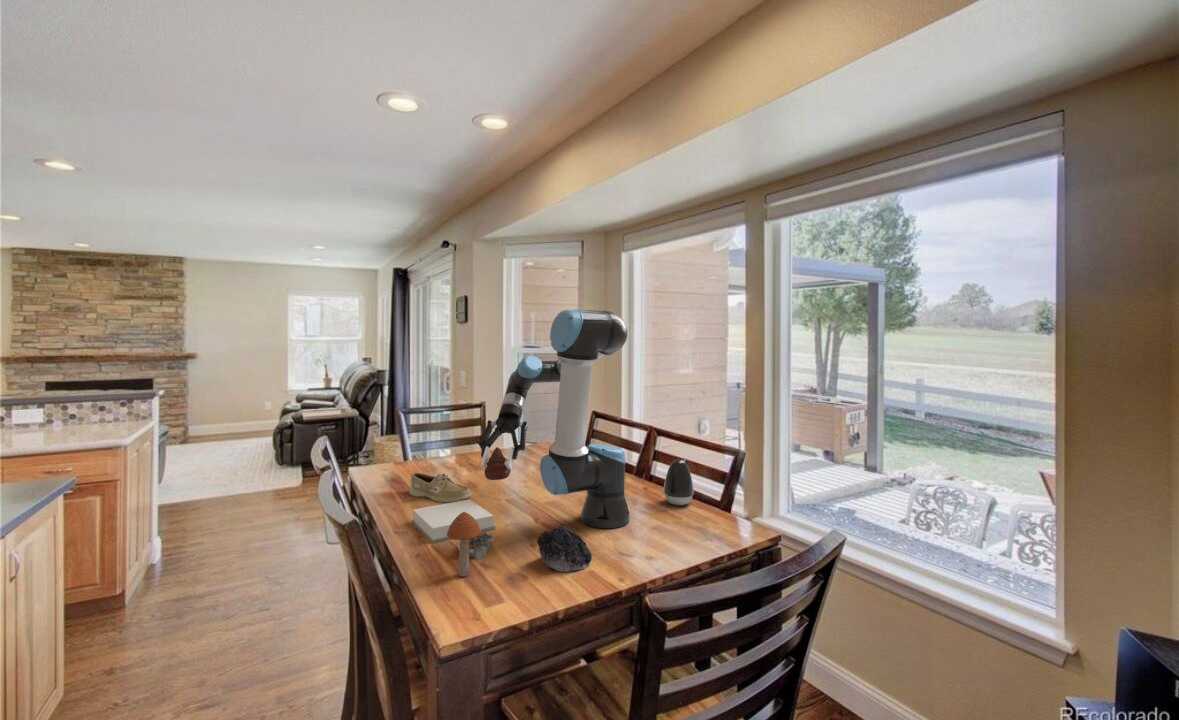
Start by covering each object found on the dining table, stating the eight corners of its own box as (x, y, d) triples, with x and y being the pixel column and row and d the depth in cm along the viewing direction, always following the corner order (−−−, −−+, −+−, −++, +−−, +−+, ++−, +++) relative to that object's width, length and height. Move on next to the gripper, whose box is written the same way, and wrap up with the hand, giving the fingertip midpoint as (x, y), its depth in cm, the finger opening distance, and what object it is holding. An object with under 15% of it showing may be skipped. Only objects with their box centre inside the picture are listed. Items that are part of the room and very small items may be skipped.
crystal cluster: (597, 556, 134) (595, 518, 135) (586, 575, 121) (584, 532, 121) (548, 555, 137) (547, 517, 137) (532, 573, 124) (531, 531, 124)
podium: (495, 529, 150) (495, 515, 149) (432, 543, 139) (432, 528, 139) (470, 511, 165) (470, 498, 164) (411, 522, 154) (411, 509, 154)
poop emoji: (486, 473, 169) (485, 445, 169) (512, 472, 170) (511, 444, 169) (483, 481, 159) (482, 451, 159) (511, 479, 160) (509, 450, 160)
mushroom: (469, 563, 127) (470, 503, 126) (487, 574, 121) (488, 512, 121) (440, 573, 121) (440, 511, 121) (457, 585, 116) (457, 520, 115)
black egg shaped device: (697, 501, 178) (698, 458, 177) (686, 510, 169) (687, 464, 168) (670, 496, 183) (671, 454, 182) (658, 504, 174) (659, 460, 174)
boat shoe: (476, 498, 178) (476, 476, 178) (459, 506, 170) (459, 482, 170) (420, 489, 188) (420, 467, 188) (402, 496, 180) (402, 473, 180)
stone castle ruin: (483, 561, 129) (483, 545, 129) (454, 559, 130) (454, 543, 130) (495, 543, 140) (495, 529, 140) (468, 542, 141) (468, 527, 140)
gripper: (542, 416, 177) (529, 474, 162) (486, 415, 181) (468, 471, 165) (539, 403, 172) (525, 461, 156) (480, 401, 175) (461, 458, 160)
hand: (495, 466), depth 161 cm, fingers closed on poop emoji, 8 cm apart
